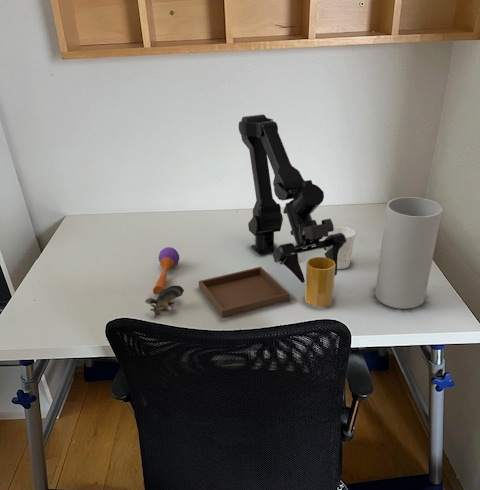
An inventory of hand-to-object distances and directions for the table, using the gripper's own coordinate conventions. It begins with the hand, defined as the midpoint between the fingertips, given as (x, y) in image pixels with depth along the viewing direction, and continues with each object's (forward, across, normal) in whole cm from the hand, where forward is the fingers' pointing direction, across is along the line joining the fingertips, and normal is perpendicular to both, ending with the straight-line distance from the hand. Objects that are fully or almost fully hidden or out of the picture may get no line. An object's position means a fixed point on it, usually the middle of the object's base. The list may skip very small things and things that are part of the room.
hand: (319, 278), depth 136 cm
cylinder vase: (+10, +20, 0) cm, 22 cm away
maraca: (-15, -33, +25) cm, 44 cm away
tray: (-2, -17, +12) cm, 21 cm away
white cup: (-6, +16, +16) cm, 23 cm away
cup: (+5, 0, +5) cm, 7 cm away
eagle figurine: (-4, -37, +14) cm, 40 cm away
